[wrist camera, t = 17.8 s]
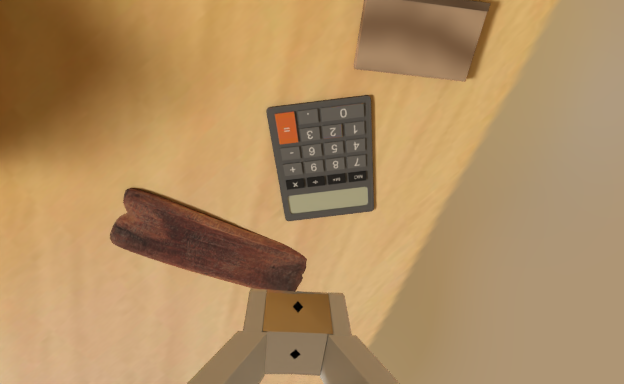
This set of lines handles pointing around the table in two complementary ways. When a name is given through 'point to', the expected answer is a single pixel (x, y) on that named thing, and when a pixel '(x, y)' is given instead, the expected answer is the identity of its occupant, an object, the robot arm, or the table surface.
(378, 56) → the laid board
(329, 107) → the calculator
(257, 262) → the wooden tablet
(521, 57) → the table surface
